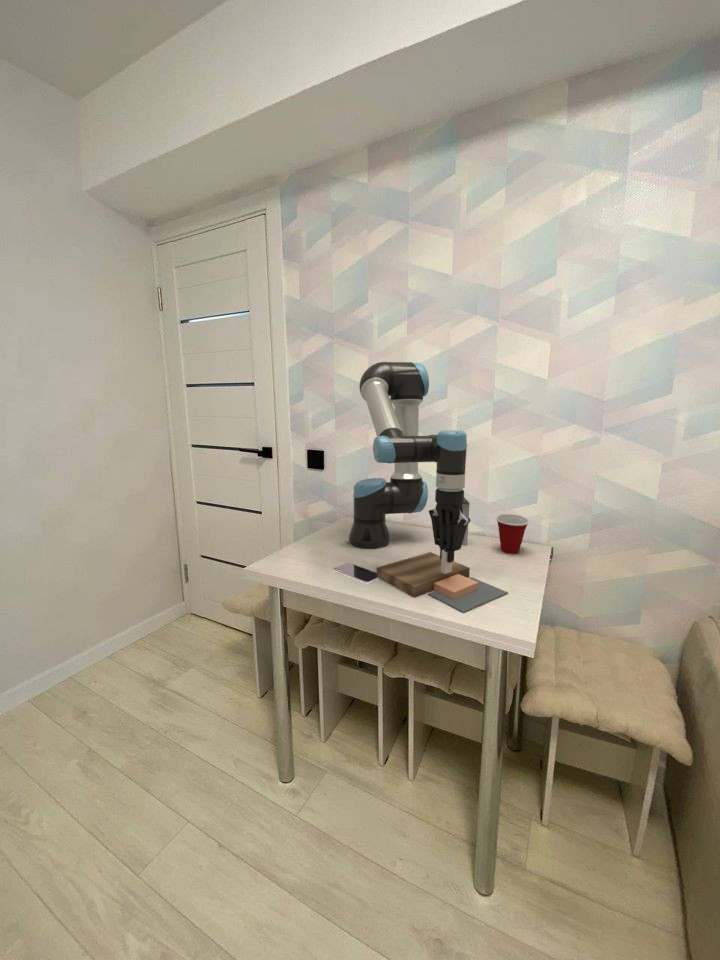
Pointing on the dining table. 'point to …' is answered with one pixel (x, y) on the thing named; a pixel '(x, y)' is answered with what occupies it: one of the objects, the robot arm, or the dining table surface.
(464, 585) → the coral block
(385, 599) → the dining table surface
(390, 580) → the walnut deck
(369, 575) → the mobile phone
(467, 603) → the rubber mat
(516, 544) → the plastic cup
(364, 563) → the dining table surface
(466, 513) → the coffee box
